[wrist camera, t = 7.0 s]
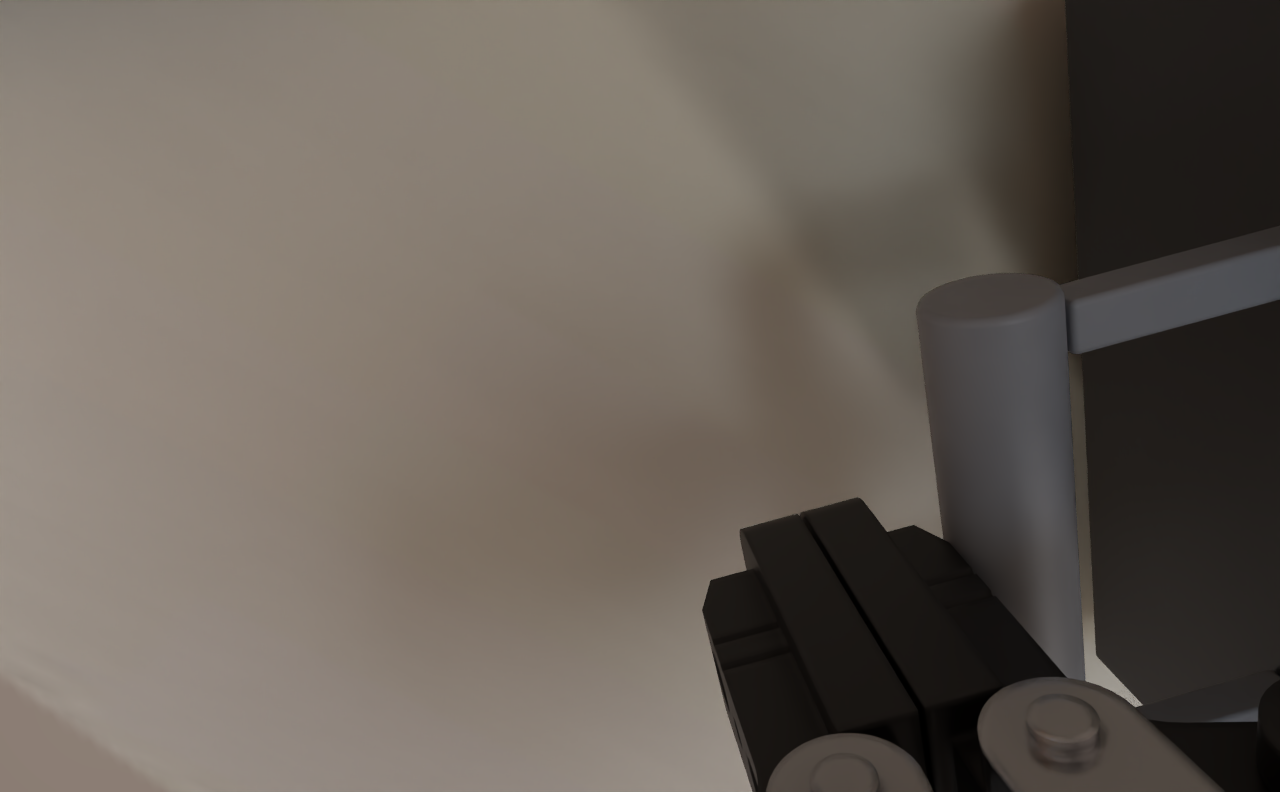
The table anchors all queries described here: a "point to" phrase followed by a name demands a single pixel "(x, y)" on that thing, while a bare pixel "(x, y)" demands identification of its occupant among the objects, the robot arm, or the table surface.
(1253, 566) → the pull-out drawer
